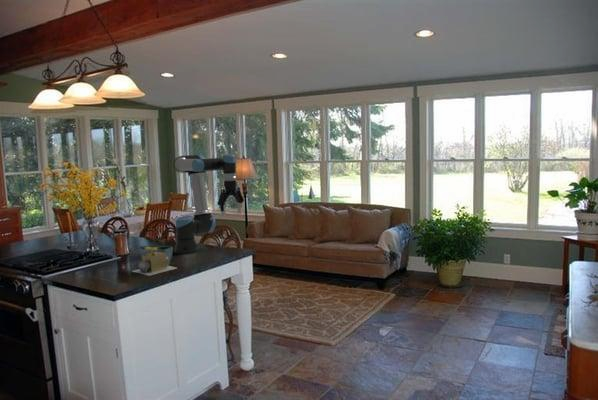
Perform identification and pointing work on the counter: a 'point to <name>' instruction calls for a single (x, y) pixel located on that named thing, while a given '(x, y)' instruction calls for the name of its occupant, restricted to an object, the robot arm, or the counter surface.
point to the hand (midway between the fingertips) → (231, 214)
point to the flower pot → (166, 250)
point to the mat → (156, 271)
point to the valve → (154, 262)
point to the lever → (148, 248)
